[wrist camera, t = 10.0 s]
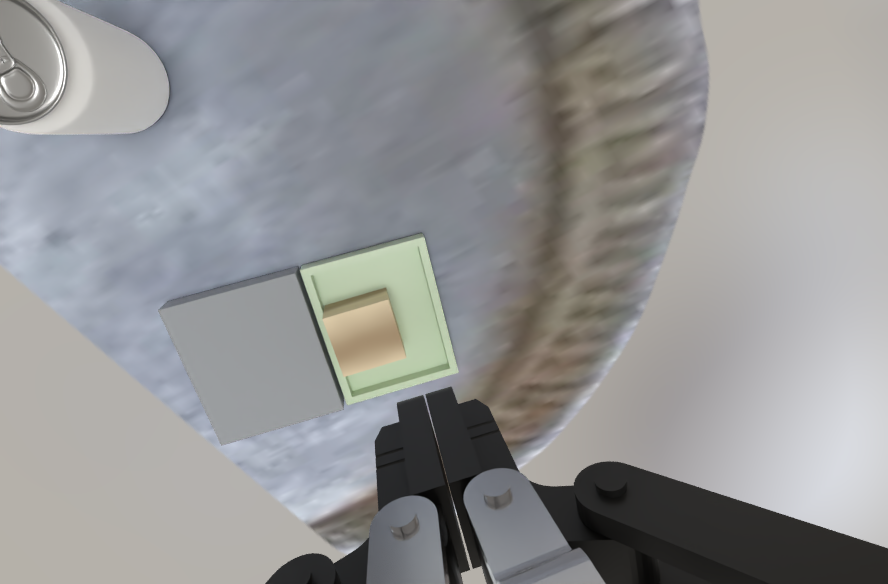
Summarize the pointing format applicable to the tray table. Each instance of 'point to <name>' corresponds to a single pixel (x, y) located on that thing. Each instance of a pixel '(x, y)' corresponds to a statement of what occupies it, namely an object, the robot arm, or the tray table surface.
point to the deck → (254, 355)
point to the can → (75, 73)
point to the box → (412, 302)
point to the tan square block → (364, 332)
